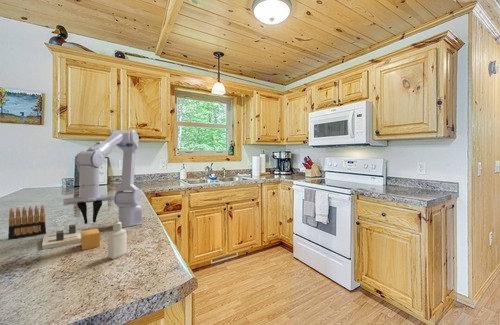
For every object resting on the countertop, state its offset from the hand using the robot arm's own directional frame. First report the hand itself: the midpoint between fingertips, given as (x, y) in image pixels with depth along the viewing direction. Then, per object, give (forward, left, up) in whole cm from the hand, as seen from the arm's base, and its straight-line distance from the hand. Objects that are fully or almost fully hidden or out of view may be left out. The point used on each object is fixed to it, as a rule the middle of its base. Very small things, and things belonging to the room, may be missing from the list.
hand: (90, 222), depth 81 cm
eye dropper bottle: (-6, +15, -9) cm, 18 cm away
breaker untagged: (+5, -16, -7) cm, 18 cm away
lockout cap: (0, 0, -8) cm, 8 cm away
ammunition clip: (+18, -27, -9) cm, 34 cm away
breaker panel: (+8, -12, -8) cm, 17 cm away
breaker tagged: (+8, -9, -7) cm, 14 cm away
